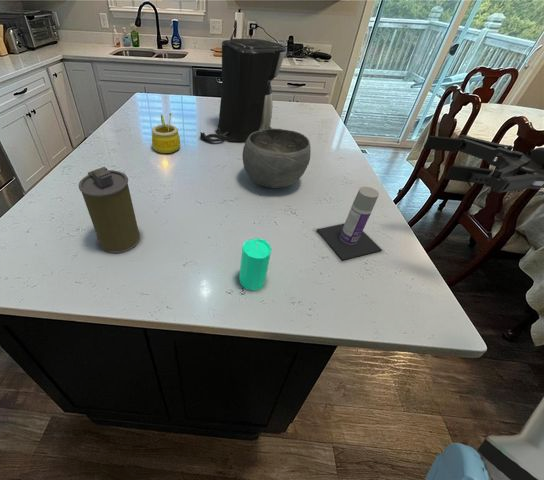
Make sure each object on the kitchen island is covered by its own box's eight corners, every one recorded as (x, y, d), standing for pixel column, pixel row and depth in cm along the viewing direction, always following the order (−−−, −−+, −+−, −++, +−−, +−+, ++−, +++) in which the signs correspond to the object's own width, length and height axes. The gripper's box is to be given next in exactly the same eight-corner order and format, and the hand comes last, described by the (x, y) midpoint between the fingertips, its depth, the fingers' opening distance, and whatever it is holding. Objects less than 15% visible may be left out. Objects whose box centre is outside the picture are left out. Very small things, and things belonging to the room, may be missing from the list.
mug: (174, 157, 111) (171, 125, 102) (147, 152, 113) (143, 120, 105) (187, 143, 120) (185, 113, 111) (163, 139, 122) (159, 109, 114)
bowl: (313, 180, 102) (325, 138, 91) (281, 207, 89) (291, 162, 79) (263, 160, 111) (268, 120, 101) (228, 182, 99) (230, 139, 89)
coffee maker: (281, 130, 133) (296, 41, 110) (240, 155, 113) (248, 54, 90) (240, 117, 142) (246, 33, 119) (196, 138, 123) (193, 43, 100)
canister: (148, 240, 77) (134, 172, 63) (111, 259, 71) (87, 189, 58) (126, 220, 82) (110, 154, 69) (91, 237, 77) (65, 168, 63)
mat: (381, 251, 77) (381, 249, 76) (342, 261, 74) (342, 259, 73) (352, 223, 85) (353, 221, 84) (316, 230, 82) (317, 229, 81)
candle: (265, 271, 70) (272, 234, 62) (264, 291, 66) (272, 254, 58) (240, 268, 71) (244, 231, 62) (238, 288, 66) (241, 250, 58)
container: (356, 235, 80) (378, 188, 70) (358, 246, 77) (380, 199, 67) (339, 231, 81) (357, 185, 71) (339, 243, 77) (359, 195, 67)
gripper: (579, 223, 51) (448, 205, 54) (507, 158, 69) (412, 147, 72) (619, 186, 46) (473, 168, 49) (530, 126, 64) (427, 115, 67)
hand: (436, 155), depth 60 cm, fingers open, 13 cm apart
